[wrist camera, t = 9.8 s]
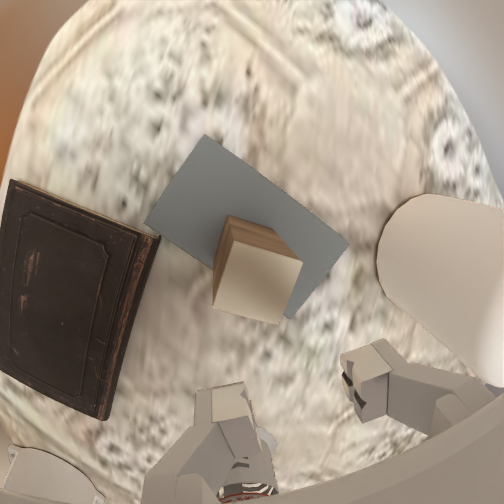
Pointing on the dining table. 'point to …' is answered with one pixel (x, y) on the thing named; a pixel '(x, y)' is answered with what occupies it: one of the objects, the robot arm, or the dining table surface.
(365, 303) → the dining table surface
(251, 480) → the french press
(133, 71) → the dining table surface
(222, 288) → the walnut block
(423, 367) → the robot arm
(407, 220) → the white lidded jar
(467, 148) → the dining table surface
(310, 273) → the rubber mat
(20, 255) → the hardcover book
